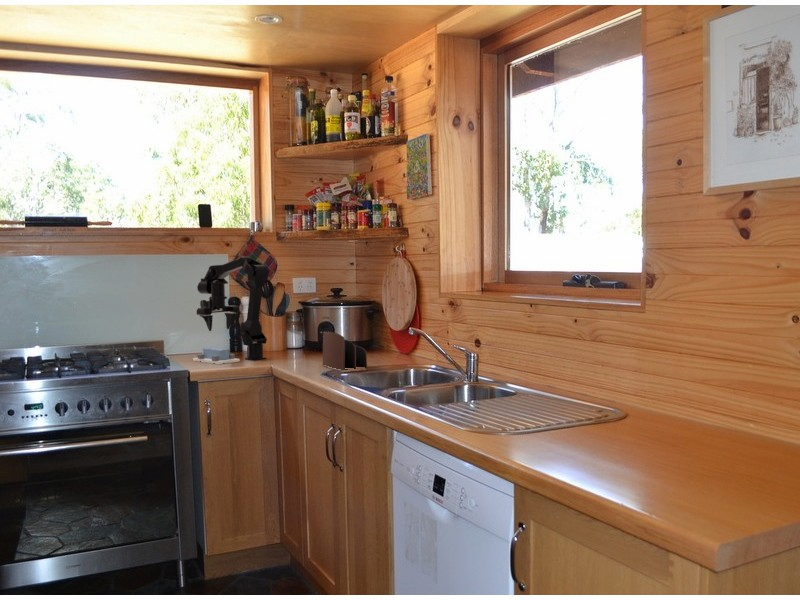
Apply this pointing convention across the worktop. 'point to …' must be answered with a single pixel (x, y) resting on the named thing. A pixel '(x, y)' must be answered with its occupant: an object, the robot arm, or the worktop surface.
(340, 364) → the letter holder
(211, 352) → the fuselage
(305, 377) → the worktop surface
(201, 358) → the cradle
